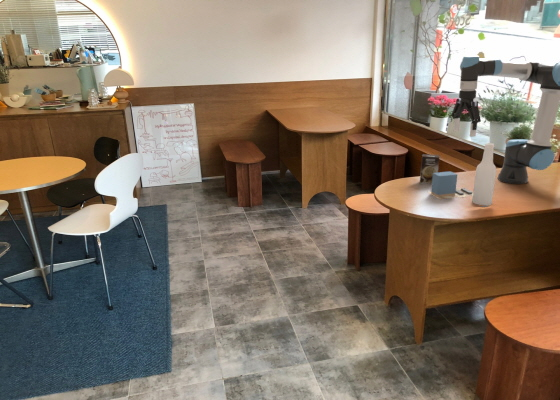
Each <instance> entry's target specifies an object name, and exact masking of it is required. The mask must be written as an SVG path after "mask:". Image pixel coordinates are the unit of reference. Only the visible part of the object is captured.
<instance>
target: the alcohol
mask: <svg viewBox="0 0 560 400" xmlns="http://www.w3.org/2000/svg"><path fill="white" fill-rule="evenodd" d="M494 148H495V143H493V142H492V143H491V142H486V143H485V144H484V150H483V155H482V160H481V162H480V163H479V164H477V166H476V169H475V174H474V175H475V176H474V183H473V184H474V185H473V191H472V192H473V196H472V199H471V200H472V201H471V202H472V203H473V204H475V205H479V206H478V207H479V208H489V207H490V206H491V205H492V203H493V197H494V190H495V183H496V177H497V167H496V165H495V164H494Z"/></svg>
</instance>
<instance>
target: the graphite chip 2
mask: <svg viewBox="0 0 560 400" xmlns="http://www.w3.org/2000/svg"><path fill="white" fill-rule="evenodd" d="M460 188H461V187H460ZM465 188H466V187H462V188H461V191H463V192H465V193H467V194H472V192H473V191H472V190H470V191H469V189H468V188H466V189H465ZM467 189H468V190H467ZM471 191H472V192H471Z"/></svg>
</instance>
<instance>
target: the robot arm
mask: <svg viewBox="0 0 560 400" xmlns="http://www.w3.org/2000/svg"><path fill="white" fill-rule="evenodd" d="M459 68H460V83H459V95H458V98H457V99H456V100H455V105H454V107H453V109H452V113H451V115H450V116H451V117H453V129H452V131H453V132H454V133H455V132H459V131H460V121H461V115H462V113H463V112H464V111H466V112H468V115H469V118H470V121H471V122H470V126H469V127H470V128H469V138H471V137H476V135H477V134H476V133H477V129H478V123H480V122H481V121H482V120H481V115H480V109H479V101H474V99H476V97H477V88H478V78H479V77H488V76H491V77H502V78H512V79H513V78H514V79H518V80H519V81H523V82H529V83H533V84H537V85H540V86H539V90H541V92H542V93H541V97H540V100H539V104H538V109H537V113H536V117H535V121H534V126H533V130H532V133H531V136H530V137H531V138H530V139H522V138H521V139H520V138H519V139H517V138H516V139H509V140H508V141H506V145H505V149H504V158H503V163H502V164H503V165H502V167H501V169H500V171H499V173H498V177H497V179H498V181H500V182H503V183H505V184H506V183H507V184H514V185H515V184H516V185H520V184H522V185H524V184H526V183H528V181H529V176H528V170H527V168H530V169H532V170H536V171H544V170H546V169H547V168H548V167H550V166H551V165H552V164H553V162H554V159H555V153H554V151H553V150H552V148H553V147H552V146H553V145H552V143H551V141H550V140H551V137H552V134H553V129H554V126H555V122H556V118H557V115H558V110H559V107H560V61H559V60H558V61H554V60H553V61H552V60H537V61H526V60H525V61H524V62H514V61H505V60H501V59H500V58H480V56H479V55H465V56H463V57H462V60H461V62H460V65H459Z"/></svg>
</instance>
